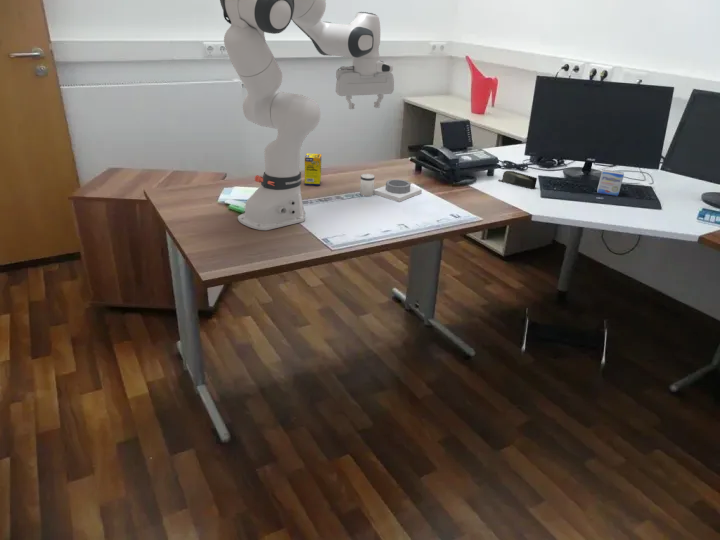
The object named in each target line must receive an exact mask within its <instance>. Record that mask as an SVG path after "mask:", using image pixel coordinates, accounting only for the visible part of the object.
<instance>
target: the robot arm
mask: <svg viewBox="0 0 720 540" xmlns="http://www.w3.org/2000/svg"><path fill="white" fill-rule="evenodd" d="M219 2H220V6H221V8H222V12H223V18H224V20H225V21H226V22H227V23H228V24H230V26H229V27H228V28H227V30H226V31H225V33H224V36H223V37H224V38H223V44H224V48H225V50H226V53H227V55H228V58H229V60H230V63H231V64H232V67H233V68H234V70H235V72H236V73H237V76H238V77H239V79H240V80H241V82H242V84H243V85H244V87H245V89H246V91H247V94H245V97H244V99H243V103H242V110H243V115H244V117H245V118H246V120H247V121H249V122H251V123H253V124H255V125H258V126H261V127H263V128H264V127H265V128H270V129H276V130H277V137H276V139H274V140H272V141H271V142H269V143H268V144H267V145H266V147H265V148H264V152H263V153H264V172H263V175H262V176H260V175H255V176H254V181H255V182H257V183H260V185H259V187H257V189H256V190H255V192H253V194H252V195H251V196H250V197H249V198H248V199H247V200H246V202H245V206H244V207H245V208H244V213H241V214H240V215H238V216H237V220H238V222H239V223H240V224H242V225H244V226H246V227H248V228H252V229H254V230H257V231H258V230H259V231H270V230H274V229H277V228H282V227H286V226H290V225H295V224H298V223H303V222H305V221H306V219H305V216H306V212H305V209H304V204H303V198H302V190H301V184H302V172H301V167H300V166H301V151H302V147H303V143H304V142H305V140H306V137H307V136H308V135H309V134H310V133H311V132H313V131H315V129H316V128H317V127H318V125H319V122H320V120H321V108H320V106H319V104H318V103H317V101H316V100H315V99H312V98H310V97H308V96H305V95H303V94H298V93H297V94H296V93H290V92H284V91H281V90H280V87H281V85H282V82H283V72H282V69H281V68H280V66H279V64H278V62H277V61H276V58H275V56H274V54H273V52H272V50H271V49H270V47H269V45H268V43H267V41H266V36H265V33H267V34H273V35H274V34H275V35H276V34H280V33H283V32H284V31H285V30H286V29H287V28H288V26H289V25H290V24H291V22H293V24H294V25H295V26H297V28H299V29H300V30H301V31H302V32H303V33H304V34H305V35H306V36H307V37H308V39H309V40H311V42H312V44H313V45H314V48H315V49H316V51H317V52H318V53H319V54H320V55H322V56H329V57H331V56H333V57H334V56H335V57H342V58H348V59H349V58H350V59H352V65H348V66H345V65H344V66H342V65H341V66H340V67H338V69H337V70H336V72H335V74H336V76H335V77H336V83H335V93H336V94H337V95H338V96H340V97H345V100H346V101H347V104H348V109H349V110H354V109H355V105H356V104H355V103H353V102H352V99H353V98H352V97H354V96H355V97H356V96H373V95H374V96H376V95H377V96H376V97H377V99H376V101H374V102H373V104H374V105H373V107H374V108H375V109H379V108H380V107H381V102H382V101H383V99H384V95H391V94H392V93H394V90H395V77H394V74H393V73H392V72H393V67H394V66H393V65H391V64H389V63H386V62H384V61H383V60H380V51H379V47H380V45H381V23H380V21H381V20H380V17H379V16H378V15H377V14H376V13H373V12H366V11H359V12H356V14H355V16H354V19H353V20H352V21H351V22H349V23H348V24H347V23H337V22H336V23H335V22H331V21H330V22H329V21H323V20H321V19H322V18H323V17H324V14H325V12H326V7H327V5H326V4H327V3H326V0H219Z"/></svg>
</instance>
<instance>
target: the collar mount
mask: <svg viewBox="0 0 720 540" xmlns="http://www.w3.org/2000/svg"><path fill="white" fill-rule="evenodd" d="M422 190H423V189H422V188H418V187H414V186H412V185H411V182H409V181H408V180H404V179H397V178H395V179H388V180H386V182H385V185H383V186H381V187H378V188H374V194H373V195H375V196H378V197H379V196H380V197H382V198H386V199H389V200H391V199H392V201H394V200H395V202H397V201H398V203H400V202H403V201H406V200H407V199H410V197H411V198H414V197H415V195H416V196H417V195H420V193H421V194H422Z"/></svg>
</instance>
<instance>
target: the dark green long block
mask: <svg viewBox="0 0 720 540" xmlns="http://www.w3.org/2000/svg"><path fill="white" fill-rule="evenodd" d="M537 180H538V178H537V177H535V176H531V175H529V174H524V173H522V172H521V173H520V172H518V171H514V170H506V171H503V173H502V179H500V178H499V179H498V180H497V181H499V182H502V183H506V184H509V185H514V186H518V187H521V188H524V189H530V190H533V189H536V186H537Z"/></svg>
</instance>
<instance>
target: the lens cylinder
mask: <svg viewBox="0 0 720 540" xmlns="http://www.w3.org/2000/svg"><path fill="white" fill-rule="evenodd" d="M374 190H375V174H372V173H362V174H361V175H360V186H359V195H360V194H361V195H360V196H362V195H364V196H363V197H372V196H371V195H373V196H374V195H375V194H374Z"/></svg>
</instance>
